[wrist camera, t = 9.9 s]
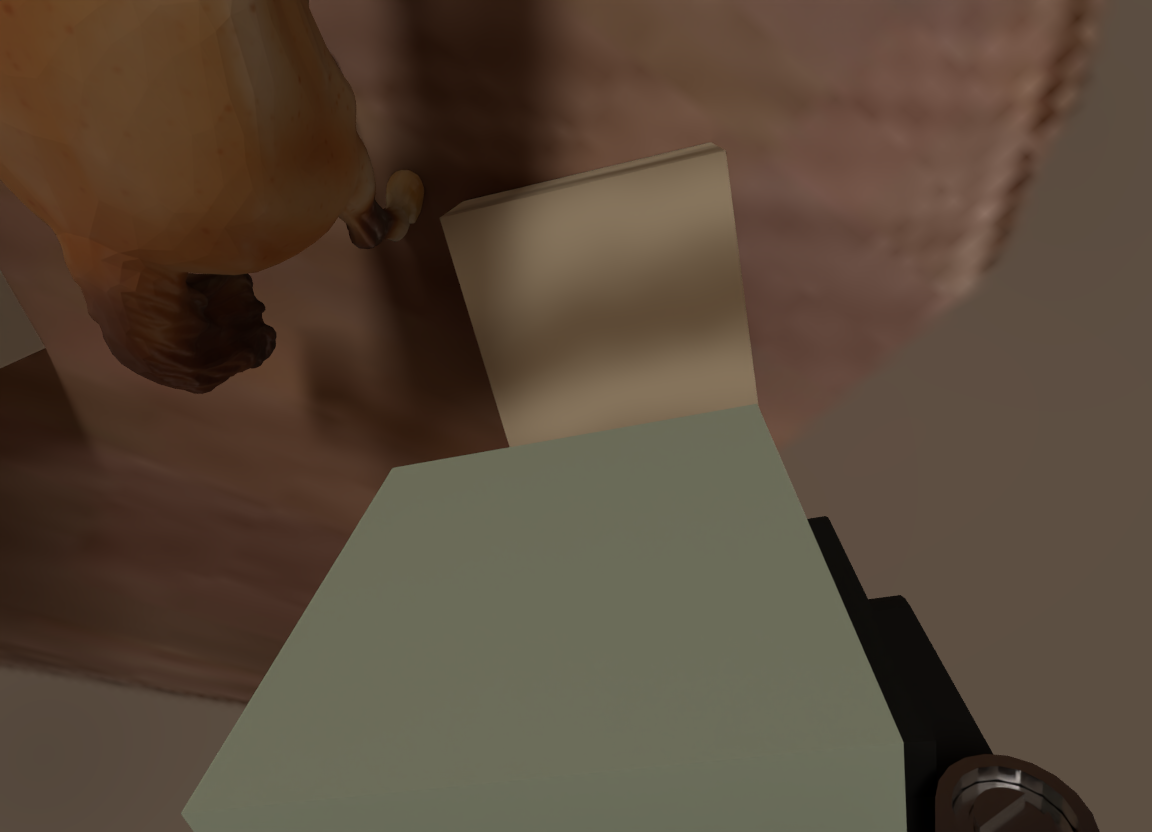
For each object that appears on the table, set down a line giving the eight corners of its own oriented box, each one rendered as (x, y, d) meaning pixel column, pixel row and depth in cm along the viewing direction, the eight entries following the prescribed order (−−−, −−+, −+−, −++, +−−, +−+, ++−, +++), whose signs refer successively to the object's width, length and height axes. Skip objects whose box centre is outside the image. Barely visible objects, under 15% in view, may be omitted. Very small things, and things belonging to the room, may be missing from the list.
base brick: (463, 201, 27) (439, 218, 24) (710, 142, 26) (725, 150, 22) (525, 419, 31) (514, 461, 28) (743, 379, 30) (759, 418, 26)
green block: (392, 467, 11) (180, 813, 6) (757, 403, 10) (903, 741, 5) (491, 720, 14) (406, 1127, 8) (793, 686, 13) (918, 1119, 7)
